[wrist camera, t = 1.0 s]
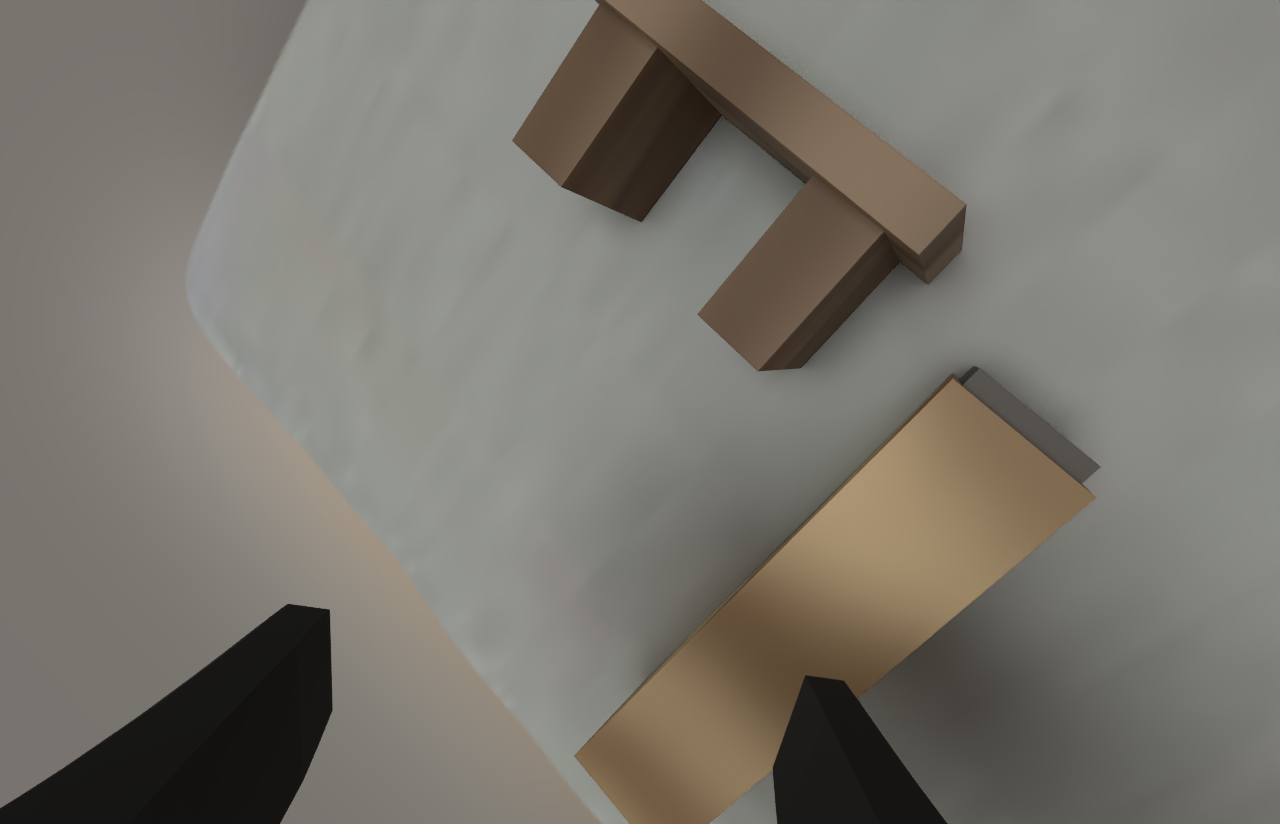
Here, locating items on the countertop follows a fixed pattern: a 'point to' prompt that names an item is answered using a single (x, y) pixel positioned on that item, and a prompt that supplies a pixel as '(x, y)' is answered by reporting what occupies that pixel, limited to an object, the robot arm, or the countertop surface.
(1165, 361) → the countertop surface
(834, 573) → the rail
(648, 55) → the brown wooden stool
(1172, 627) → the countertop surface
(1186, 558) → the countertop surface
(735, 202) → the countertop surface
